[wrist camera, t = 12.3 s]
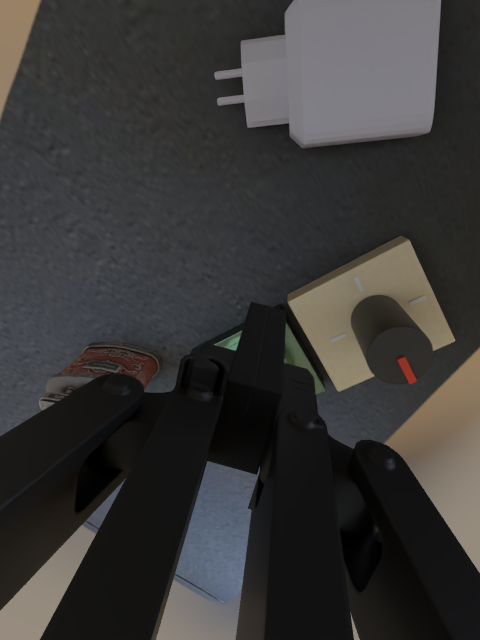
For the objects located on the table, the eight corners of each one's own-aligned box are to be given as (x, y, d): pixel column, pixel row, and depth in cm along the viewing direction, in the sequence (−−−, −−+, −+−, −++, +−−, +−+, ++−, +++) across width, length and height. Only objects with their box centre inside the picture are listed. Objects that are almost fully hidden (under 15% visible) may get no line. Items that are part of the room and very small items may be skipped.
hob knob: (341, 309, 35) (356, 345, 27) (390, 285, 33) (419, 316, 26) (363, 350, 36) (383, 396, 28) (411, 329, 35) (445, 370, 27)
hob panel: (401, 235, 34) (409, 239, 32) (445, 330, 37) (456, 342, 34) (287, 294, 37) (287, 302, 35) (335, 379, 40) (338, 393, 37)
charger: (214, 27, 31) (420, -3, 29) (226, 156, 34) (413, 137, 32) (202, 2, 26) (444, -36, 24) (217, 154, 29) (433, 131, 27)
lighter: (161, 348, 41) (124, 400, 31) (160, 378, 42) (124, 436, 32) (85, 338, 41) (26, 386, 32) (86, 367, 42) (29, 422, 33)
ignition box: (280, 303, 38) (279, 317, 34) (323, 379, 40) (327, 400, 36) (192, 349, 40) (182, 367, 37) (237, 418, 42) (232, 441, 39)
